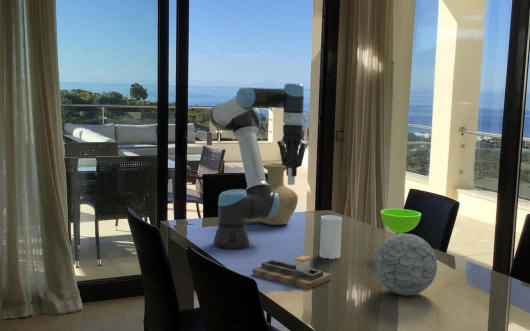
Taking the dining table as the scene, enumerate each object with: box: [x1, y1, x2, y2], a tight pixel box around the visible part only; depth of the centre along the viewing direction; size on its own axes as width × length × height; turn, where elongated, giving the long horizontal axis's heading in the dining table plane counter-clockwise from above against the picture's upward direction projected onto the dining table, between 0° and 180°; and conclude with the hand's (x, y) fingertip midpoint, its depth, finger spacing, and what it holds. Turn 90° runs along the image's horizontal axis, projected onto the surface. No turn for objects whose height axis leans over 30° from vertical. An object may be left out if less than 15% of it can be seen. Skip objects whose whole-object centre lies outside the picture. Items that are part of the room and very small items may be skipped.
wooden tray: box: [252, 259, 332, 290], centre depth 206 cm, size 24×14×4 cm, turn 53°
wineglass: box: [380, 208, 422, 235], centre depth 236 cm, size 16×16×18 cm
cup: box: [319, 214, 343, 260], centre depth 234 cm, size 8×8×16 cm
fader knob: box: [294, 255, 312, 274], centre depth 203 cm, size 3×5×6 cm
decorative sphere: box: [374, 232, 438, 296], centre depth 190 cm, size 20×20×20 cm
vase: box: [259, 162, 299, 226], centre depth 290 cm, size 22×22×30 cm
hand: (291, 184), depth 228 cm, fingers closed
